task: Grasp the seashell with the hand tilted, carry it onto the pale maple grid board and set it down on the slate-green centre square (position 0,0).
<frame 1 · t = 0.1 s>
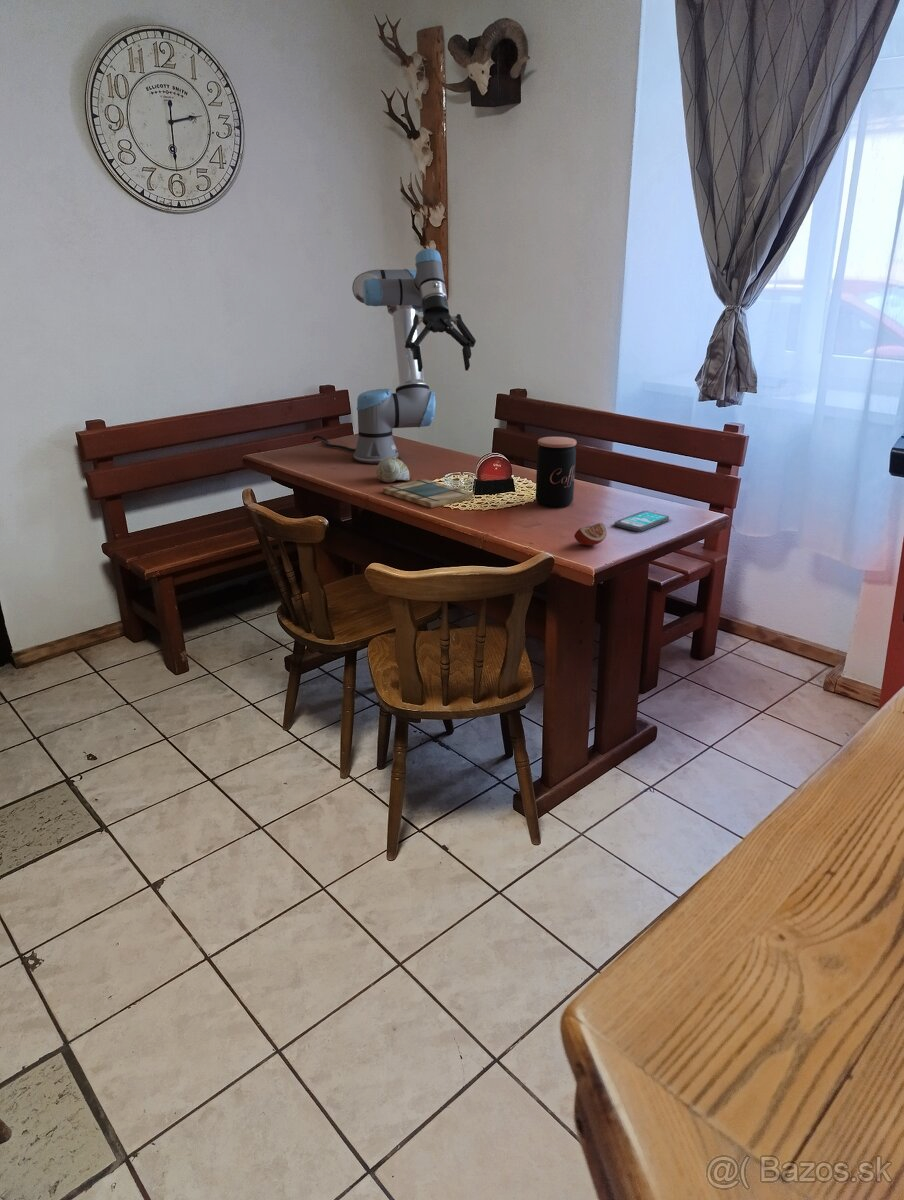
hand: (444, 368, 228), 36 cm above the table, tool tilted 35°, fingers open, 13 cm apart
seashell: (393, 481, 255), on the table
coffee jar: (554, 504, 232), on the table
smartphone: (642, 523, 214), on the table
fruit slice: (590, 545, 198), on the table
board: (427, 495, 240), on the table
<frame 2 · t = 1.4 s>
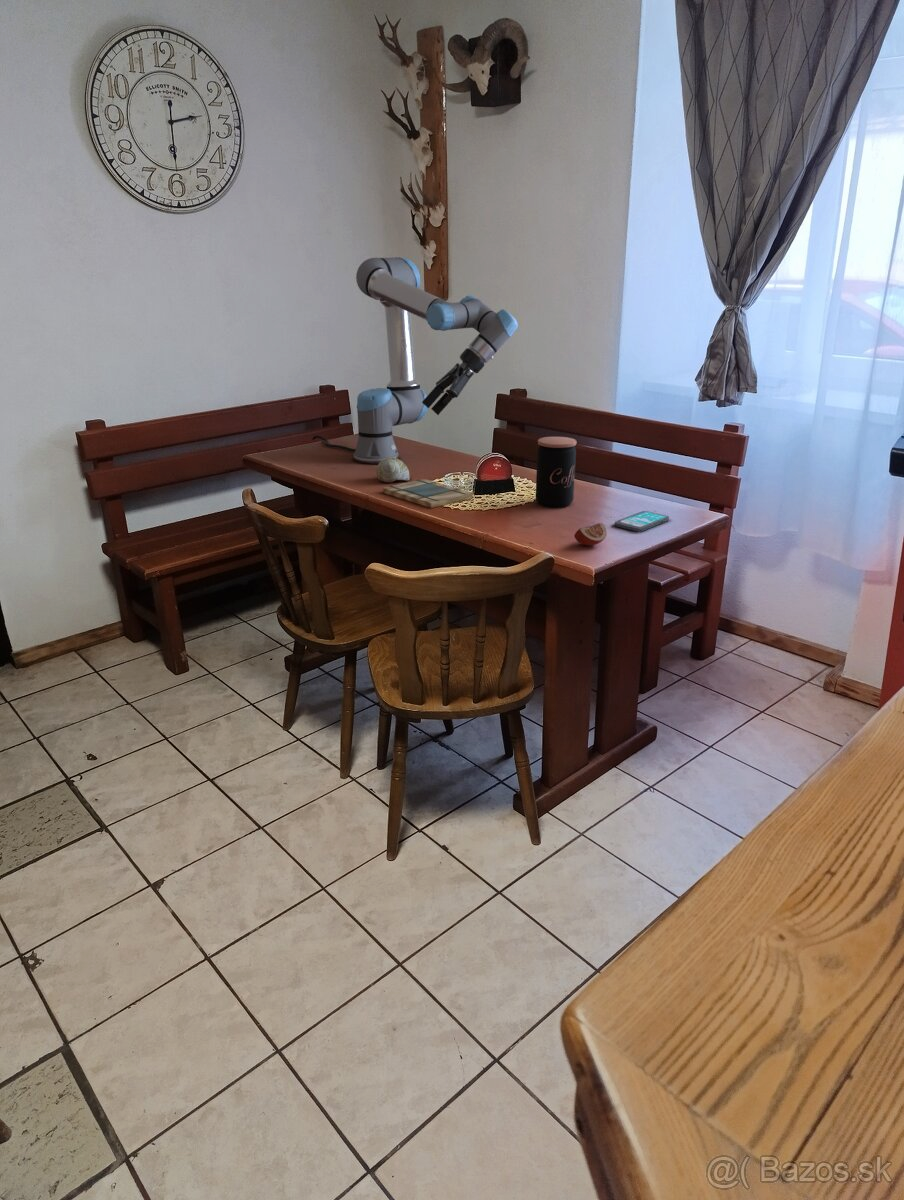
hand: (429, 408, 249), 22 cm above the table, tool tilted 45°, fingers open, 13 cm apart
nothing on the table moved.
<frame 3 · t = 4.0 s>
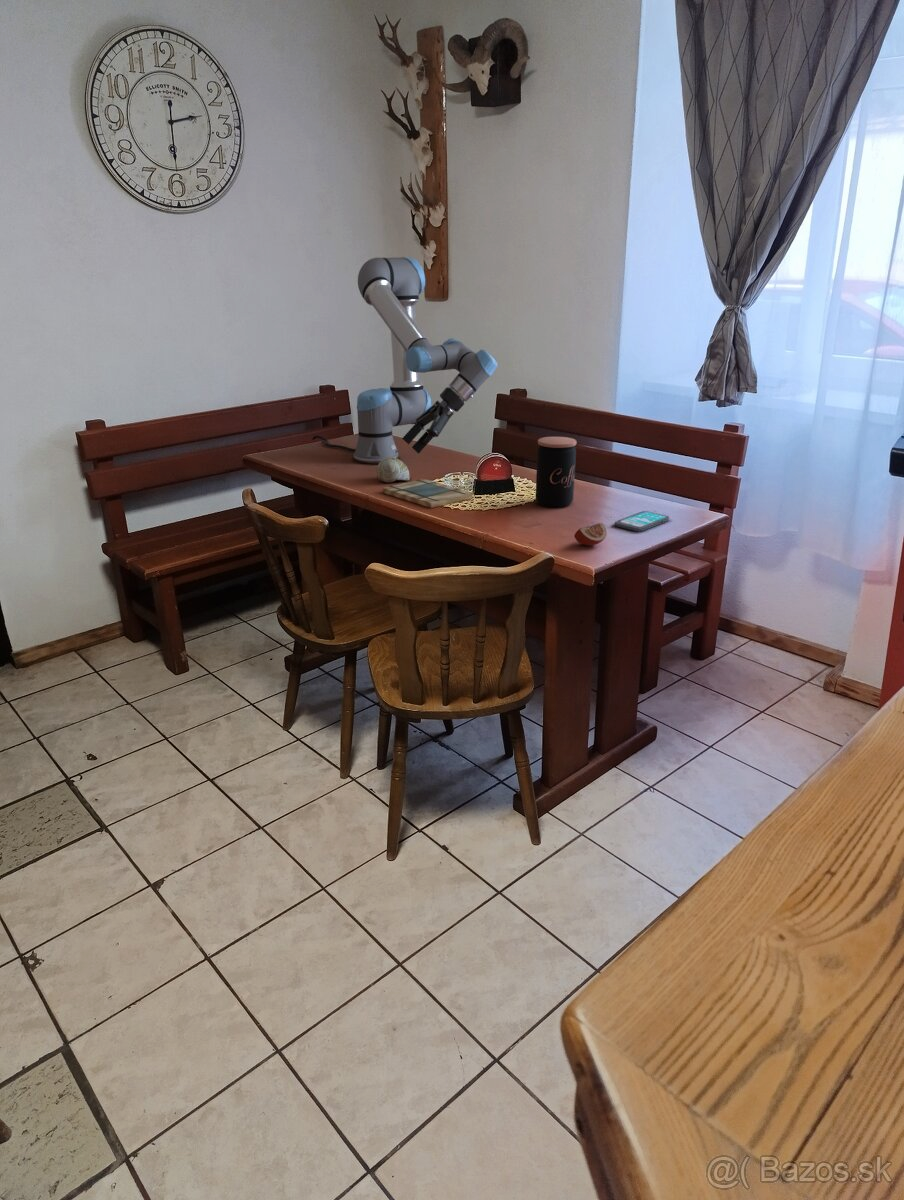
hand: (410, 446, 252), 11 cm above the table, tool tilted 45°, fingers open, 13 cm apart
nothing on the table moved.
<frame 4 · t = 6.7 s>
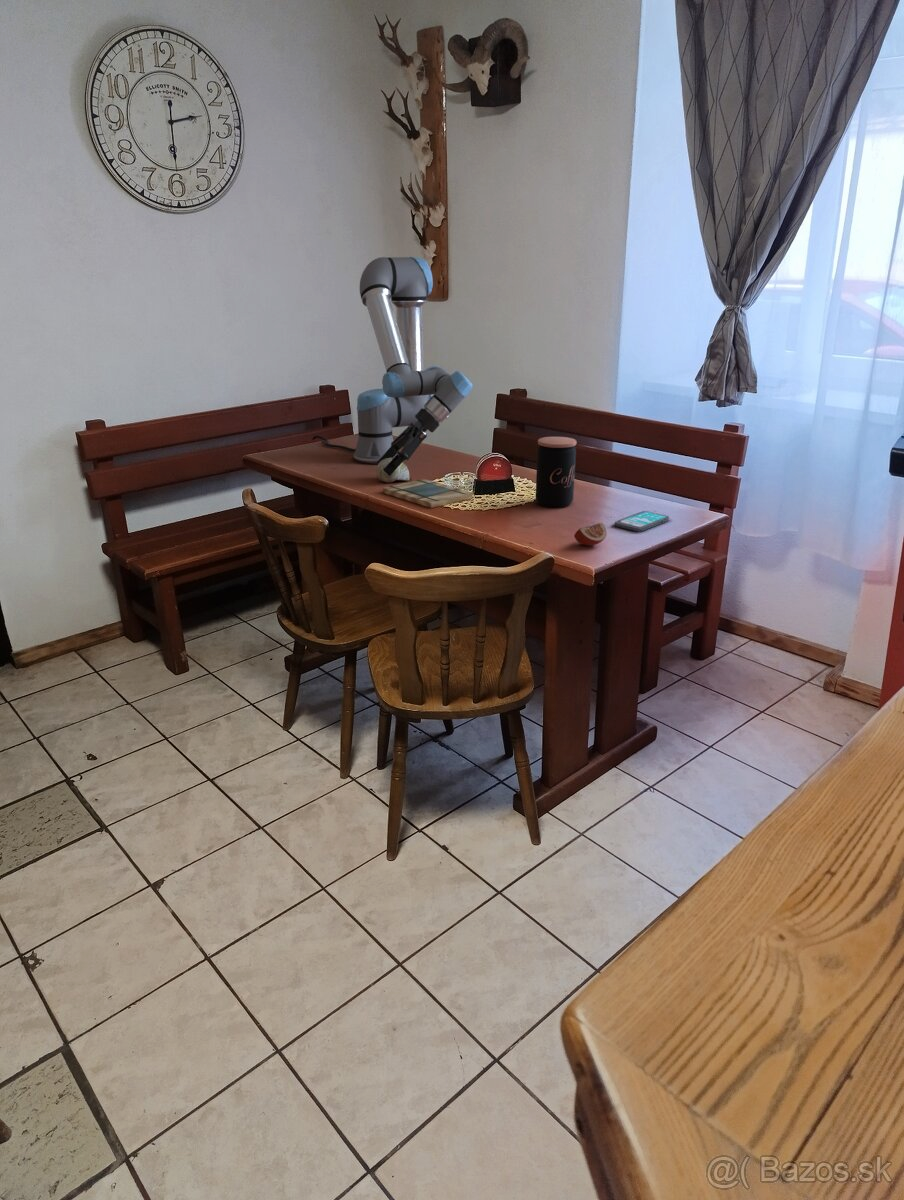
hand: (383, 469, 253), 4 cm above the table, tool tilted 45°, fingers closed on seashell, 10 cm apart
seashell: (393, 481, 255), on the table, touching gripper
everything else where it was.
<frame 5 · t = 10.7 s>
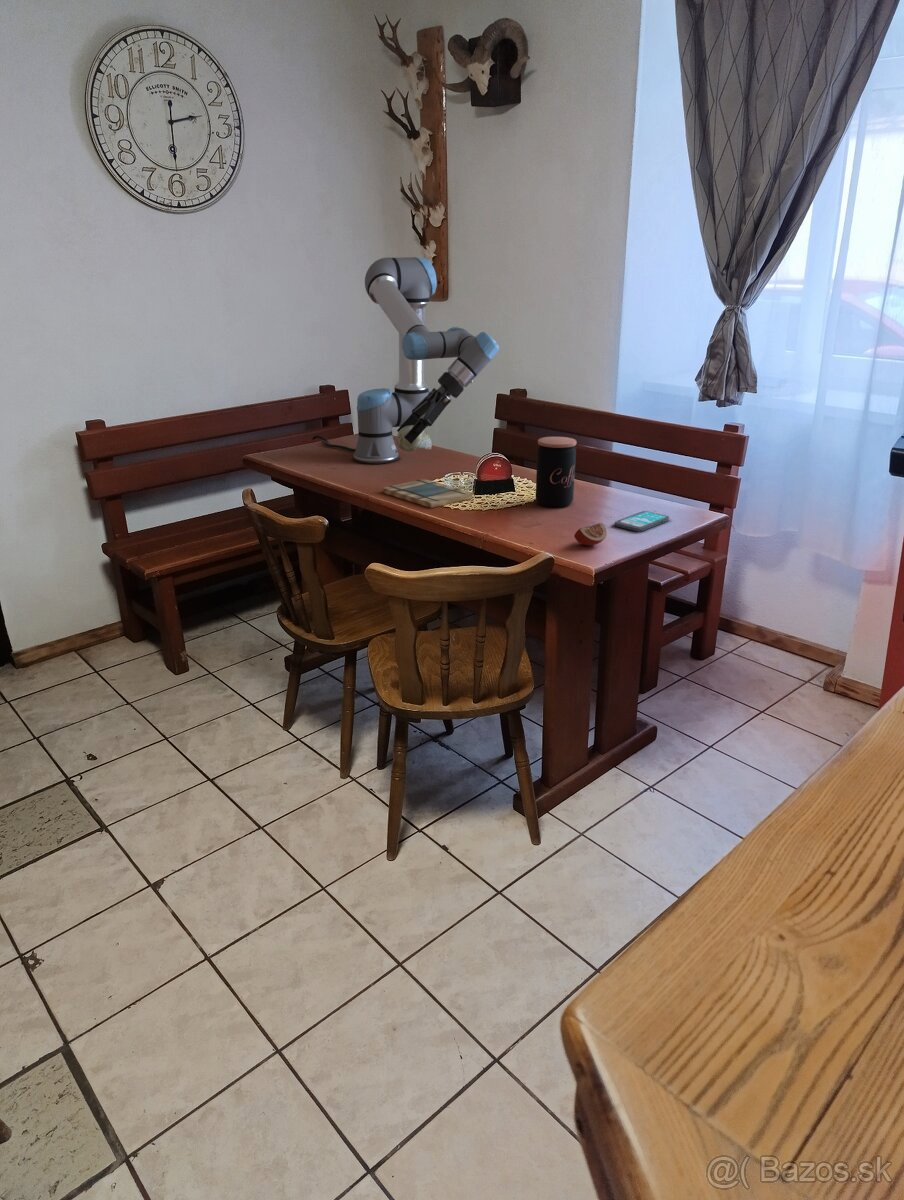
hand: (403, 437, 238), 16 cm above the table, tool tilted 45°, fingers closed on seashell, 10 cm apart
seashell: (414, 450, 240), point 12 cm above the table, touching gripper
everything else where it was.
when the fingers open (6 cm above the table, at t = 14.9 s): seashell stays where it is, resting on board.
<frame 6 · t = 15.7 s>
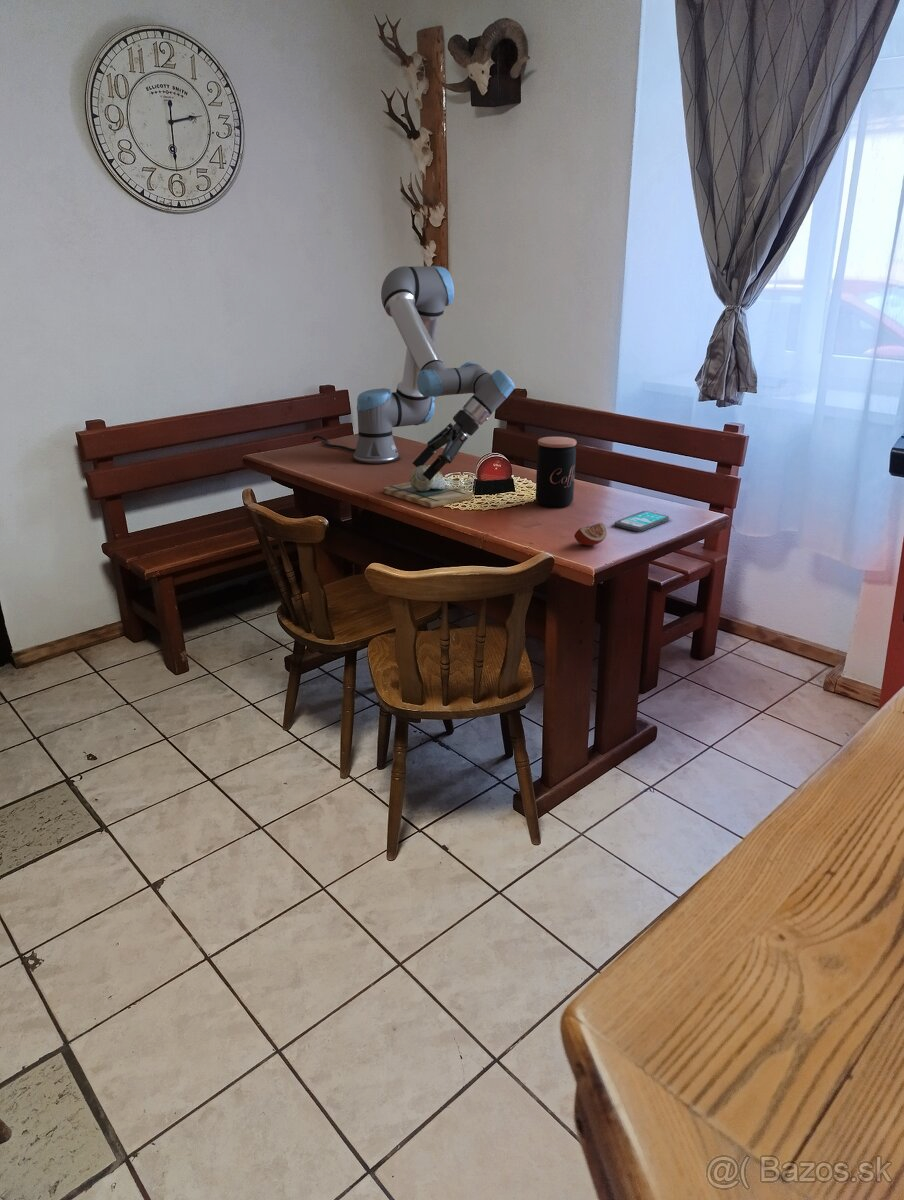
hand: (420, 471, 236), 7 cm above the table, tool tilted 45°, fingers open, 13 cm apart
seashell: (427, 490, 239), point 2 cm above the table, touching board
everything else where it was.
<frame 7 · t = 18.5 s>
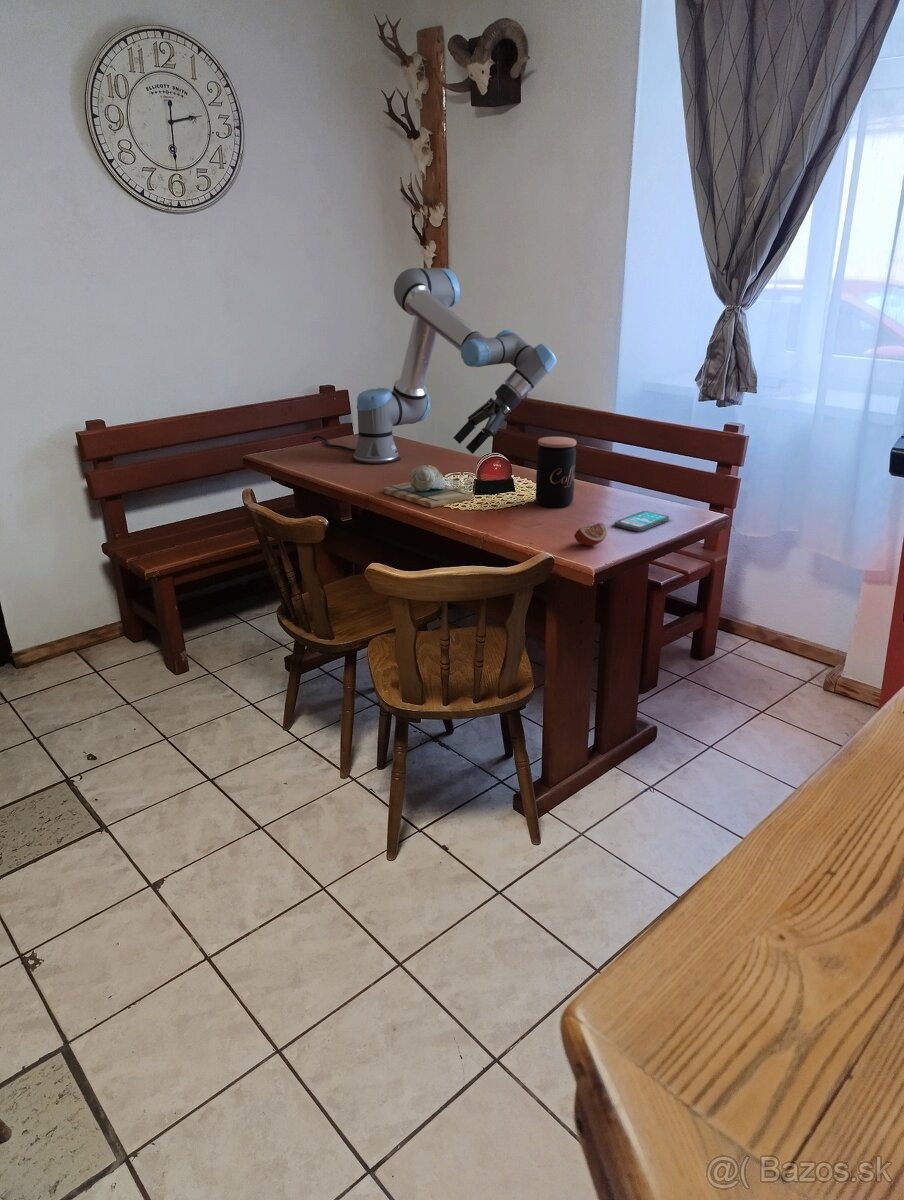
hand: (462, 445, 238), 14 cm above the table, tool tilted 45°, fingers open, 13 cm apart
nothing on the table moved.
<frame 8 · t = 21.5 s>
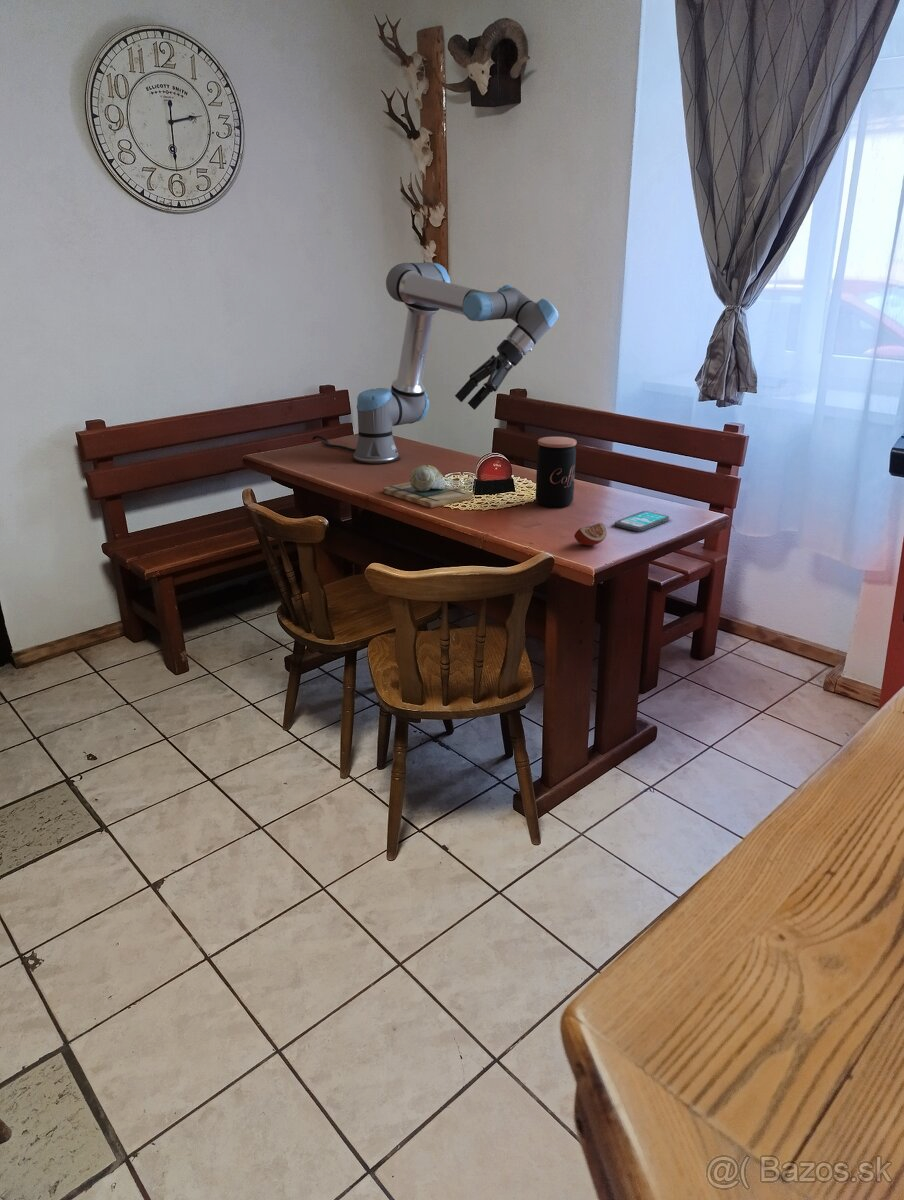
hand: (464, 402, 236), 26 cm above the table, tool tilted 45°, fingers open, 13 cm apart
nothing on the table moved.
at the end: seashell inside the target area on the board (0.1 cm from its centre), point 1.5 cm above the board's base; the gripper is holding nothing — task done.
